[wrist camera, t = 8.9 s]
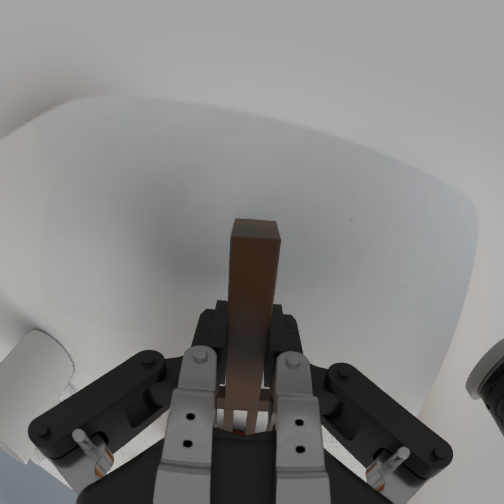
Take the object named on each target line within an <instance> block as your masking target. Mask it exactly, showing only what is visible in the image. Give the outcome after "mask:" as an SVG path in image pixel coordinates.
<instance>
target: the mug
mask: <svg viewBox="0 0 504 504" xmlns="http://www.w3.org/2000/svg"><path fill="white" fill-rule="evenodd" d="M73 373H74V367H73V363H72V361H71V359H70V357H69V356H68V354H67V353H66V351H65V350H64V349H63V348H62V346H61V345H60V344H59V343H58V342H57V341H55V340H54V339H53V338H52V337H50V336H49V335H48V334H46V333H44V332H42V331H39V330H32V331H30V332H29V333H28V334H27V335H26V336H25V337H24V338H23V339H22V340H21V341H20V342H19V343H18V344H17V345H16V346H15V347H14V348H13V350H12V351H11V352H10V353H9V354H8V355H7V356H6V357H5V359H4V360H3V361H2V362H1V363H0V447H1V448H2V449H3V450H5V451H6V452H7V453H8V454H10V455H11V456H13V457H14V458H15V459H17V460H18V461H20V462H22V463H24V464H27V462H28V460H29V458H30V459H31V460H32V461H33V462H34V463H35V464H37V465H40V463H41V462H42V461H43V460H44V459H45V458H46V457H45V456H44V455H43V454H42V453H41V452H40V450H39V449H38V448H37V447H35V445H34V444H33V443H32V442H31V440H30V439H29V436H28V427H29V424H30V423H31V421H32V420H34V419H35V418H36V417H38V416H40V415H41V414H43V413H45V412H46V411H48V410H49V409H51V408H53V407H54V406H56V405H58V404H59V403H61V401H60V397H61V395H62V393H63V392H64V390H65V388H66V386H67V384H68V383H69V381H70V379H71V377H72V375H73Z"/></svg>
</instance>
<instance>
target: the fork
mask: <svg viewBox="0 0 504 504" xmlns="http://www.w3.org/2000/svg"><path fill="white" fill-rule="evenodd" d="M280 244H281V238H280V234H279V231H278V227H277V223H276V221H267V220H253V219H239V218H236V219H235V221H234V225H233V229H232V233H231V239H230V260H229V284H228V312H227V324H228V352H227V368H226V386H219V392H218V394H217V408H218V409H224V430H226V431H230V432H233V415H234V410H243V411H247V420H246V428H245V435H250V434H254V432H255V426H256V420H257V414H258V411H268V406H269V396H270V389H261V385H262V378H263V372H264V358H265V351H266V344H267V337H268V330H269V327H270V323H271V316H272V308H273V301H274V293H275V285H276V277H277V269H278V261H279V253H280ZM267 425H268V424H267ZM266 432H267V428H266Z"/></svg>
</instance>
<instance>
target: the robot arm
mask: <svg viewBox="0 0 504 504" xmlns="http://www.w3.org/2000/svg"><path fill="white" fill-rule="evenodd" d="M227 312H228V301H223V300H217V304H216V308H215V310H214V309H206V310H205V311H203V312H202V313H201V314H200V318H199V321H198V324H197V328H196V331H195V335H194V338H193V342H192V345H191V347H190V348H188V349H187V350H186V351H185V353H184V355H183V356H181V357H177V358H169V359H164V356H163V355H162V354H161V353H159V352H157V351H154V350H144V351H141V352H139V353H137V354H135V355H134V356H132V357H131V358H129V359H128V360H126V361H125V362H123V363H122V364H120V365H119V366H117V367H116V368H114V369H113V370H111V371H109V372H108V373H106V374H105V375H103V376H102V377H100V378H99V379H97V380H95V381H94V382H92V383H91V384H89V385H88V386H86V387H85V388H83V389H81V390H80V391H78V392H77V393H75V394H73V395H72V396H70V397H69V398H67V399H66V400H64V401H62V402H61V403H59V404H58V405H56V406H54V407H53V408H51V409H49V410H48V411H46V412H45V413H43V414H41V415H40V416H38V417H36V418H35V419H34V420H32V421H31V423H30V424H29V427H28V436H29V439H30V440H31V442H32V443H33V444H34V445H35V446H36V447H37V448H38V449H39V450H40V452H41V453H42V454H43V455H44V456H45V457H46V458H47V459H48V460H49V461H50V462H51V463H52V464H53V465H54V466H55V467H56V468H57V470H58V471H59V472H60V474H61V475H62V476H63V477H64V479H65V480H66V481H67V482H68V484H69V485H70V486H71V487H72V489H73V490H74V491H75V492H76V493H77V494H78V498H77V501H76V504H406V503H407V502H408V501H409V500H410V499H411V498H412V497H413V496H414V495H415V494H416V492H417V491H418V490H419V489H420V488H421V487H422V486H423V485H424V484H425V483H426V482H427V481H429V480H430V479H431V478H433V477H434V476H435V475H437V474H438V473H439V472H441V471H442V470H443V469H444V468H445V467H447V466H448V465H449V464H450V463H451V461H452V458H453V450H452V448H451V446H450V445H449V444H448V443H447V442H446V441H445V440H443V439H442V438H441V437H440V436H438V435H437V434H436V433H435V432H433V431H432V430H431V429H430V428H428V427H427V426H426V425H425V424H423V423H422V422H421V421H420V420H418V419H417V418H416V417H415V416H413V415H412V414H411V413H410V412H408V411H407V410H406V409H405V408H403V407H402V406H401V405H400V404H398V403H397V402H396V401H395V400H394V399H392V398H391V397H390V396H389V395H387V394H386V393H385V392H384V391H383V390H381V389H380V388H379V387H378V386H376V385H375V384H374V383H373V382H372V381H370V380H369V379H368V378H367V377H366V376H364V375H363V374H362V373H361V372H360V371H358V370H357V369H356V368H355V367H353V366H352V365H350V364H347V363H335V364H333V365H331V366H330V367H329V369H325V368H320V367H317V366H314V365H312V364H310V363H309V360H308V359H307V357H306V356H304V355H303V351H302V346H301V341H300V336H299V331H298V326H297V321H296V320H295V319H294V318H293V316H292V315H287V314H283V312H282V305H281V304H273V308H272V316H271V323H270V327H269V330H268V337H267V344H266V351H265V358H264V387H270V396H269V406H268V425H267V432H261V433H256V434H250V435H240V434H237V433H233V432H230V431H226V430H223V429H219V428H216V424H217V394H218V392H219V385H220V384H224V385H225V377H226V368H227V352H228V324H227ZM477 393H478V395H479V396H480V397H481V398H482V400H483V401H484V403H485V405H486V407H487V408H488V410H489V412H490V413H491V415H492V417H493V418H494V420H495V422H496V424H497V425H498V427H499V429H500V431H501V433H502V435H503V436H504V357H503V358H502V359H501V360H500V361H499V362H498V363H497V364H495V365H494V367H493V368H492V369H491V370H490V371H489V372H488V374H487V375H486V376H485V378H484V379H483V380H482V382H481V384H480V385H479V388H478V391H477ZM169 408H170V410H169V415H168V421H167V427H166V432H165V438H163V439H161V440H159V441H158V442H157V443H155V444H154V445H152V446H151V447H149V448H148V449H146V450H145V451H143V452H142V453H140V454H139V455H137V456H136V457H134V458H133V459H131V460H130V461H128V462H127V463H125V464H123V465H122V466H120V467H119V468H117V469H115V470H114V471H112V472H110V473H109V474H107V475H106V473H107V471H109V470H110V468H111V467H112V465H113V463H114V456H113V454H114V453H115V452H116V451H117V450H119V449H120V448H121V447H123V446H124V445H125V444H126V443H128V442H129V441H130V440H132V439H133V438H134V437H135V436H137V435H138V434H139V433H140V432H141V431H143V430H144V429H145V428H146V427H148V426H149V425H150V424H151V423H152V422H154V421H155V420H156V419H157V418H158V417H160V416H161V415H162V414H163V413H164V412H166V411H167V410H168V409H169ZM321 424H322V425H323V426H324V427H325V428H326V429H327V430H328V431H329V432H330V433H331V434H332V435H333V436H334V437H335V438H336V439H337V440H338V441H339V442H340V443H341V444H342V445H343V446H344V447H345V448H346V449H347V450H348V451H349V452H350V453H351V454H352V455H353V456H354V457H355V458H356V459H357V460H358V461H359V462H360V463H361V464H362V465H363V466H364V467H365V468H366V479H367V483H366V482H365V481H364V480H362V479H361V478H360V477H358V476H357V475H356V474H355V473H353V472H352V471H351V470H350V469H348V468H347V467H346V466H345V465H343V464H342V463H341V462H340V461H339V460H337V459H336V458H335V457H334V456H333V455H331V454H330V453H329V452H328V451H327V450H326V449H324V448H323V439H322V429H321Z"/></svg>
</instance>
